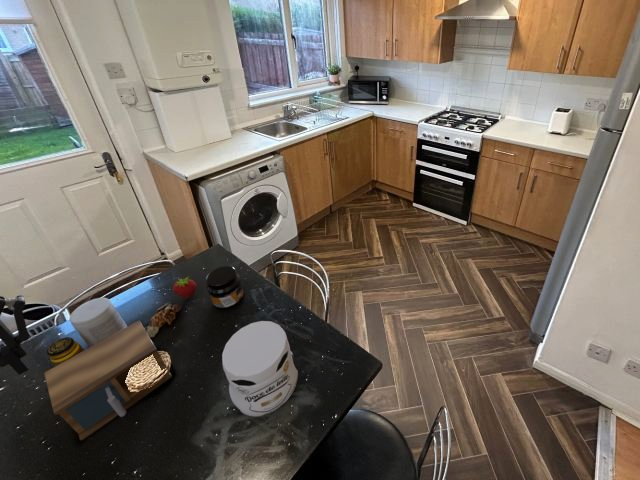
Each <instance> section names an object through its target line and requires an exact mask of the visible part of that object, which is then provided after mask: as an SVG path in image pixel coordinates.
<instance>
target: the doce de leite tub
mask: <svg viewBox="0 0 640 480" xmlns="http://www.w3.org/2000/svg"><path fill="white" fill-rule="evenodd" d="M221 358H222V359H221V360H222V369H223V372H224V374H225V376H226V377H225V378H226V379H227V381H228V393H229V396H230V397H229V398H230V400H231V402H232V404H233V405H234V406H235V408H237V410H238V411H239V412H240V413H242V414H244V415H246V416H249V417H263V416H267V415H269V414H272V413H274V412H275V411H277V410H278V409H280V408H281V407H282V406H283V405H284V404H285V403H286V402H287V401H288V400H289V399H290V397H291V396H292V395H293V393H294V391H295V389H296V386H297V383H298V377H299V369H298V363H297V360H296V359H297V358H296V357H295V355H294V354H293V352H292V351H291V348H290V343H289V341H288V337H287V334H286V331H285V330H284V329H283V328H282V327H281V325H280V324H278V323H275V322H273V321H269V320H267V321H266V320H260V321H259V320H258V321H256V322H255V321H254V322H251V323H249V324H247V325H245V326H243V327H241V328H240V329H239V330H237V331H236V332H235V333H233V334H232V336H231V337H230V338H229V339H228V341H227V342H226V344H225V346H224V347H223V352H222V354H221Z"/></svg>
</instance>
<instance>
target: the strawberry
mask: <svg viewBox="0 0 640 480" xmlns="http://www.w3.org/2000/svg"><path fill="white" fill-rule="evenodd" d="M190 276H191V275H188V276H187V277H184V278H179V279H178V280H177V281H175V283H174V284H173V286H172V289H173V292H174V293H175V294H176V295H177V296H178V297H182V298H184V299H188V300H189V299H191V298H192V297H193V295H194V294H195V292H196V290H197V283H196V282H195V281H194V280H193V279H192V278H190Z"/></svg>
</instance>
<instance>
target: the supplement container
mask: <svg viewBox="0 0 640 480" xmlns="http://www.w3.org/2000/svg"><path fill="white" fill-rule="evenodd" d="M237 272H238V271H237V269H236V268H235V267H234V266H231V265H223V266H219V267H217V268H214V269H213V270H212V271H210V272H209V273H208V274H207V276H206V277H205V283H206V291H207V293H208V294H209V297H210V300H211V304H212V306H213V307H214V308H215V309H217V310H221V311H226V310H231V309H233V308H234V307H236V306H238V305H239V304H240V303H241V302H242V300H243V299H244V296H245V291H244V289H243V285H242V282H241V277H240V275H239V274H238V273H237Z"/></svg>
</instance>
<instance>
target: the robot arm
mask: <svg viewBox="0 0 640 480" xmlns="http://www.w3.org/2000/svg"><path fill="white" fill-rule="evenodd" d="M25 306H26V300H25V296H24V295H22V294H19V295H16V296H15V297H14V298H5V297H4V296H2V295H0V316H1V315H2V313H3V311H4V308H5V307H7V309H8V310H9V311H12V312H13V317H14V321H15V325H16V329H17V335H15V334H14V333H13V332H12V331H11V330H10V328H9V327H8V326H7V325H6V324H5V323H4V322H3V321H2V319H0V341H2V342H3V343H4V344H5V345H4V346H2V347H0V367H1V368H4V367H6V366H8V365H9V366H10V367H11V368H12V369H13V371H14V372H15V373H16V374H17V375H19V376H20V375H22V374H25V373H27V372H28V371H29V370H30V368H29V364H28V361H27V360H26V359H25V358H24V357H26V356H27V349H26V348H25V346H23V345H22V343H23V342H26V341H28V340H29V339H30V336H29V331H28V327H27V323H26V320H25V315H24V309H25Z"/></svg>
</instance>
